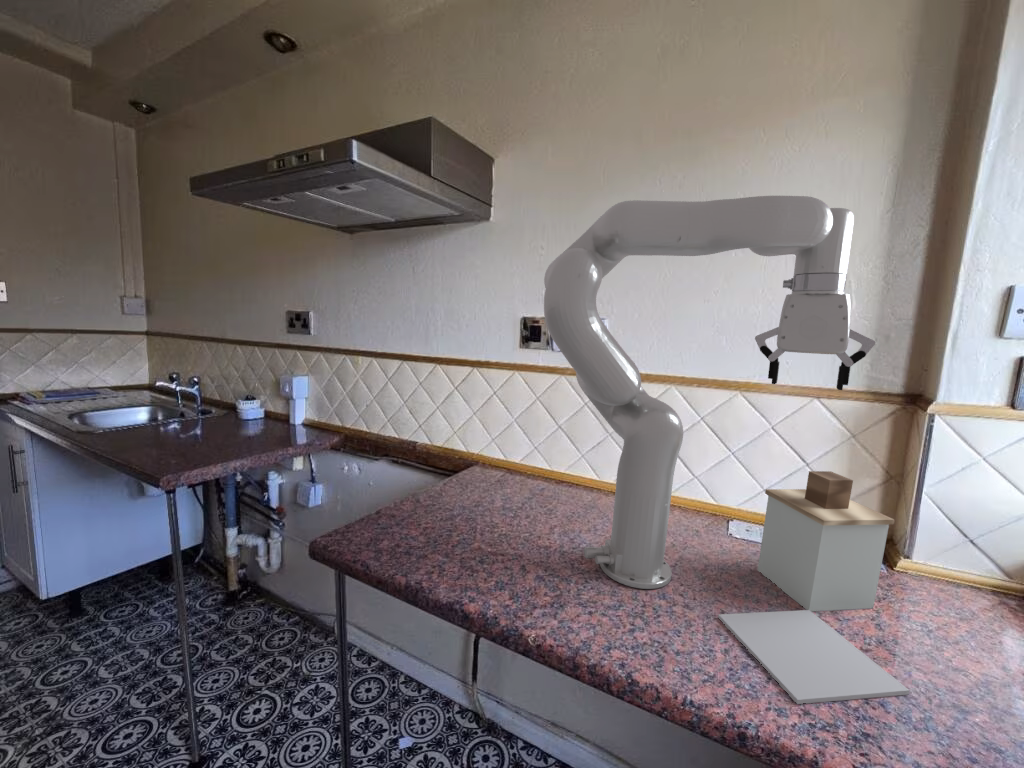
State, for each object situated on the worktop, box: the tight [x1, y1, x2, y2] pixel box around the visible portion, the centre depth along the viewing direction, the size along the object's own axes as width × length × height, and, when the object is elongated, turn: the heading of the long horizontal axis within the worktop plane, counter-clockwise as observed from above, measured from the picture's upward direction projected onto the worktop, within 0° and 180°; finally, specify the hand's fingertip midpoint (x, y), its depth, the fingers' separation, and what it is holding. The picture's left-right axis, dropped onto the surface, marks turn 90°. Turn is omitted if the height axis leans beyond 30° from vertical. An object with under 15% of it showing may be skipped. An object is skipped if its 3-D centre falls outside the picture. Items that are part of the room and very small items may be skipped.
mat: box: [717, 609, 910, 705], centre depth 64 cm, size 16×16×1 cm
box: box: [757, 495, 890, 613], centre depth 80 cm, size 12×12×15 cm
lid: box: [764, 470, 896, 526], centre depth 78 cm, size 13×13×7 cm
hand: (805, 386), depth 80 cm, fingers open, 9 cm apart
